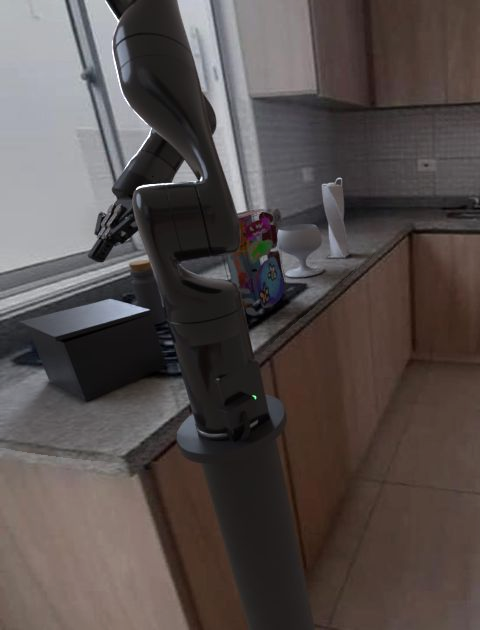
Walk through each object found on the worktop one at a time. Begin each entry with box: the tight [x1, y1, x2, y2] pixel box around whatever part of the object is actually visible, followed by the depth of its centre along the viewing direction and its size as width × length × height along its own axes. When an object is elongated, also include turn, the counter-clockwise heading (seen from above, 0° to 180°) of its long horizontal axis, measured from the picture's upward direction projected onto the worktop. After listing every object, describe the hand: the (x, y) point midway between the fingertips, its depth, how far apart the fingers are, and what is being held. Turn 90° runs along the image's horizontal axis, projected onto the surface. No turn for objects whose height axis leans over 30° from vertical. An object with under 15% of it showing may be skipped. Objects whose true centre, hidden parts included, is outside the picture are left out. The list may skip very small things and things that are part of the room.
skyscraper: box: [321, 177, 351, 260], centre depth 159 cm, size 8×8×28 cm
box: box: [221, 208, 288, 323], centre depth 112 cm, size 25×6×24 cm, turn 170°
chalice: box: [277, 223, 324, 278], centre depth 142 cm, size 14×14×15 cm
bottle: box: [128, 259, 167, 326], centre depth 107 cm, size 6×6×15 cm
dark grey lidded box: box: [27, 314, 167, 402], centre depth 82 cm, size 14×15×11 cm
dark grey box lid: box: [18, 298, 151, 341], centre depth 79 cm, size 15×15×1 cm
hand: (94, 259), depth 79 cm, fingers closed
